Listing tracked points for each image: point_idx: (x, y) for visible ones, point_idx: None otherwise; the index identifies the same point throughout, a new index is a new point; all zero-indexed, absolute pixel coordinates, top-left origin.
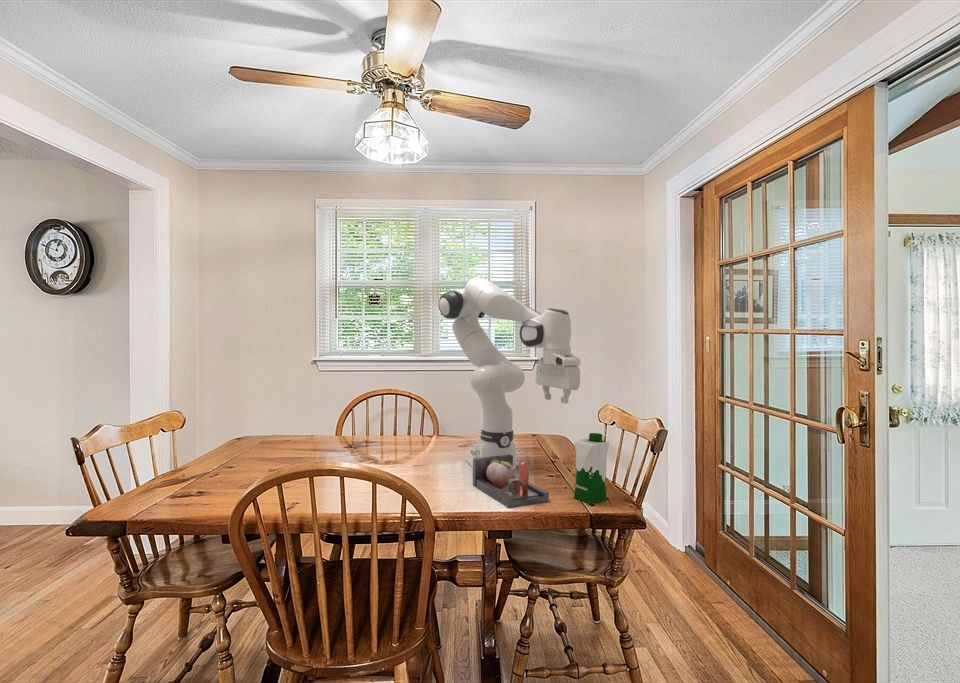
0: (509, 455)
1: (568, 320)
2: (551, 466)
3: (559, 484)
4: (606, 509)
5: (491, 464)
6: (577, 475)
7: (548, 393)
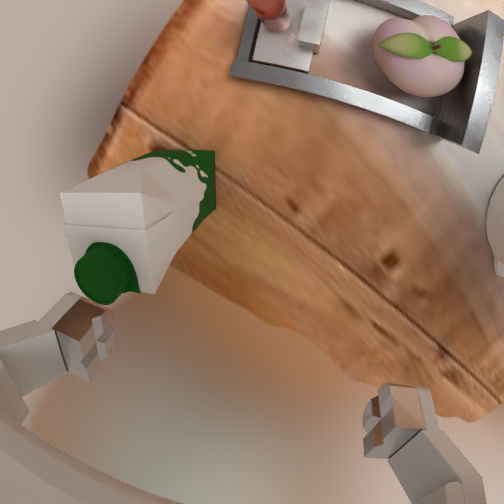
0: (471, 139)
1: None
2: (430, 323)
3: (324, 216)
4: (124, 156)
5: (444, 25)
6: (169, 154)
7: (399, 455)
